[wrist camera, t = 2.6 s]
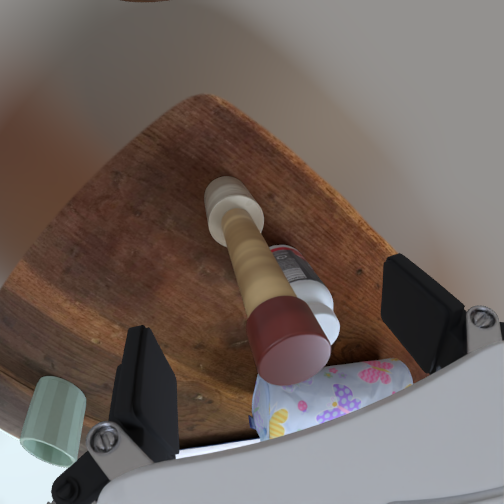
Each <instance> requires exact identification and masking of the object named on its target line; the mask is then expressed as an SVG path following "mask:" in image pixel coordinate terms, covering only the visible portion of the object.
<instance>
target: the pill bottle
mask: <svg viewBox="0 0 504 504" xmlns="http://www.w3.org/2000/svg"><path fill="white" fill-rule="evenodd" d="M269 248H270V250H271V252H272V253H273V255H274V257H275V259H276V260H277V262H278V264H279V266H280V267H281V269H282V271H283V273H284V275H285V276H286V278H287V280H288V282H289V283H290V285H291V287H292V289H293V290H294V292H295V294H296V296H297V297H298V298H300V299H302V300H303V301H305V302H306V303H307V304H308V306H309V307H310V309H311V311H312V312H313V314H314V316H315V317H316V319H317V321H318V323H319V324H320V326H321V328H322V329H323V331H324V333H325V335H326V336H327V338H328V340H329V341H330V344H331V345H332V344H333V342H334V341H335V340H336V338H337V337H338V334H339V331H340V324H339V321H338V319H337V317H336V316H335V314H334V312H333V299H332V296H331V294H330V292H329V290H328V289H327V287H326V286H325V285H324V284H323V282H322V281H321V280H320V279H319V277H318V276H317V275H316V273H315V272H314V270H313V269H312V268H311V266H310V265H309V264H308V262H307V261H306V260H305V258H304V257H303V256H302V254H301V253H300V252H299V251H298V250H296V249H295V248H293V247H291V246H288V245H274V246H271V247H269Z"/></svg>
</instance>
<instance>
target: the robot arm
mask: <svg viewBox="0 0 504 504" xmlns="http://www.w3.org/2000/svg"><path fill="white" fill-rule="evenodd" d="M464 307H465V306H464V305H463V304H462V303H461V302H460V301H459V300H458V299H457V298H455V297H454V296H453V295H452V294H450V293H449V292H448V291H447V290H446V289H445V288H444V287H442V286H441V285H440V284H439V283H437V282H436V281H435V280H434V279H432V278H431V277H430V276H429V275H428V274H427V273H425V272H424V271H423V270H422V269H420V268H419V267H418V266H416V265H415V264H414V263H413V262H411V261H410V260H409V259H408V258H406V257H405V256H404V255H402V254H400V253H399V254H396V255H393V256H390V257H388V258H387V260H386V262H384V267H383V288H382V303H381V318H382V320H383V322H384V323H385V324H386V325H387V326H388V328H389V329H390V330H391V331H392V332H393V334H394V335H395V336H396V337H397V339H398V340H399V341H400V342H401V343H402V345H403V346H404V347H405V348H406V350H407V351H408V352H409V353H410V354H411V356H412V357H413V358H414V359H415V361H416V362H417V363H418V364H419V366H420V367H421V368H422V370H423V371H424V372H425V373H429V374H430V376H428V377H426V378H424V379H422V380H420V381H418V382H416V383H414V384H413V385H411V386H409V387H407V388H405V389H403V390H400V391H398V392H396V393H394V394H392V395H390V396H388V397H386V398H383V399H381V400H379V401H377V402H374V403H372V404H370V405H368V406H365V407H363V408H360V409H358V410H356V411H353V412H351V413H348V414H345V415H343V416H340V417H338V418H335V419H332V420H330V421H327V422H324V423H321V424H318V425H315V426H312V427H309V428H306V429H303V430H300V431H297V432H294V433H290V434H287V435H284V436H280V437H277V438H273V439H269V440H265V441H262V442H258V443H254V444H250V445H245V446H241V447H236V448H232V449H227V450H222V451H217V452H212V453H207V454H202V455H196V456H190V457H184V458H179V459H176V454H179V434H178V412H177V381H176V377H175V374H174V372H173V370H172V369H171V367H170V365H169V363H168V361H167V360H166V358H165V356H164V354H163V352H162V350H161V348H160V346H159V345H158V343H157V341H156V339H155V337H154V335H153V333H152V331H151V329H150V328H145V326H144V325H141V326H136V327H132V328H129V330H128V334H127V338H126V343H125V348H124V354H123V359H122V364H120V365H119V366H118V367H117V371H116V377H115V382H114V388H113V394H112V401H111V407H110V414H109V421H104V422H100V423H98V424H96V425H95V426H93V427H92V428H91V429H90V431H89V432H88V434H87V437H86V447H87V449H88V451H87V452H86V453H85V454H84V455H82V456H81V457H80V458H79V459H78V460H77V461H76V462H75V463H73V464H72V465H71V466H70V467H69V468H68V469H67V470H66V471H64V472H63V473H62V474H61V475H60V476H59V477H58V478H57V479H56V480H55V481H54V483H53V485H52V490H51V493H52V497H53V501H52V503H50V502H48V503H47V504H504V322H499V318H498V316H497V314H496V313H495V312H494V311H493V310H492V309H490V308H488V307H486V306H474V307H471V308H470V309H469V310H468V311H467V312H466V311H465V310H464Z"/></svg>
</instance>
